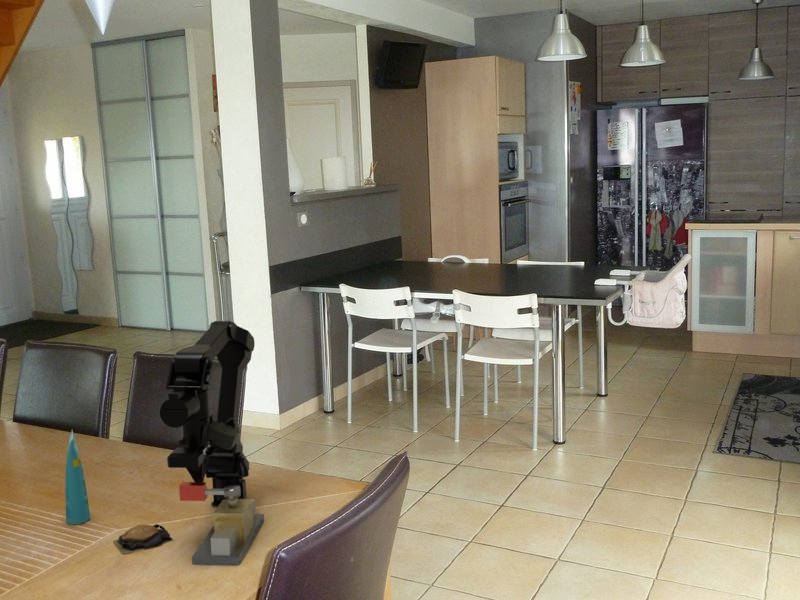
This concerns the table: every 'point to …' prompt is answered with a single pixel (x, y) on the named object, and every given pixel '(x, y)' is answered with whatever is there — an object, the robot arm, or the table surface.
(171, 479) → the table surface
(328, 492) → the table surface
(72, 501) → the tube
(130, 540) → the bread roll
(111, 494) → the table surface
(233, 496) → the valve lever
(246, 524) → the valve stand
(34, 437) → the table surface
